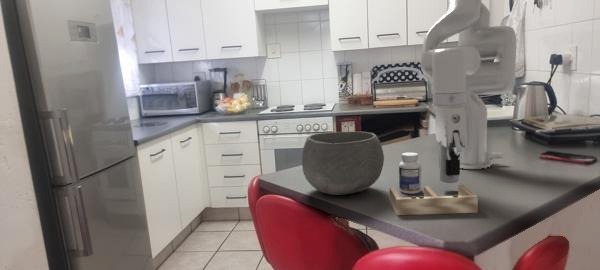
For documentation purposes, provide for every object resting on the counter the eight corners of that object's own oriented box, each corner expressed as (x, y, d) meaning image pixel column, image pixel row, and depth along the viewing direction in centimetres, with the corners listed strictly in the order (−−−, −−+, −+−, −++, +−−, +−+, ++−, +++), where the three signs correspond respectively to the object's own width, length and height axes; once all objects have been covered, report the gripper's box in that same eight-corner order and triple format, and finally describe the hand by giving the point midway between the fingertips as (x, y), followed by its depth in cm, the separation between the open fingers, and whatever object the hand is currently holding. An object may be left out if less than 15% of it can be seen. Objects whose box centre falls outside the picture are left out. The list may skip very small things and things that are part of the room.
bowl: (385, 181, 112) (384, 129, 110) (383, 206, 92) (382, 142, 90) (311, 180, 117) (309, 130, 115) (294, 204, 97) (291, 143, 95)
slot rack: (462, 199, 94) (462, 183, 94) (477, 212, 85) (477, 195, 85) (389, 201, 95) (389, 186, 94) (397, 215, 86) (396, 198, 86)
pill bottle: (403, 187, 106) (403, 151, 105) (423, 189, 103) (423, 152, 102) (396, 192, 102) (395, 155, 100) (416, 195, 99) (416, 156, 97)
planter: (436, 178, 103) (436, 139, 101) (453, 176, 103) (453, 138, 101) (444, 184, 98) (444, 143, 96) (462, 182, 99) (462, 141, 97)
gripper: (478, 102, 88) (477, 181, 92) (453, 95, 105) (453, 162, 108) (443, 105, 89) (444, 183, 92) (424, 97, 105) (425, 163, 109)
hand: (449, 171), depth 100 cm, fingers closed on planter, 4 cm apart
